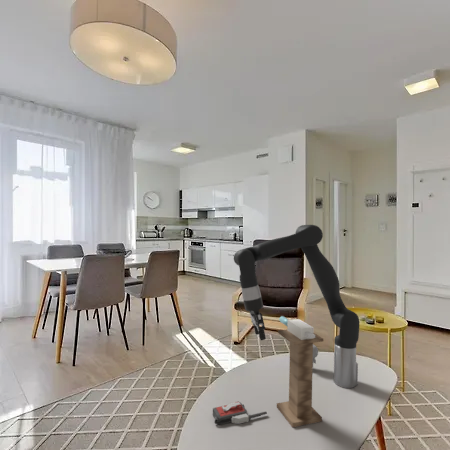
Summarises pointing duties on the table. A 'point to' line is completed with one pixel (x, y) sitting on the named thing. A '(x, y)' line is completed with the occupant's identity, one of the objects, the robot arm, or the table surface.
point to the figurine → (315, 353)
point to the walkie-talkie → (233, 414)
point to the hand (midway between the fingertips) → (260, 336)
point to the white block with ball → (298, 328)
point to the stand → (300, 382)
